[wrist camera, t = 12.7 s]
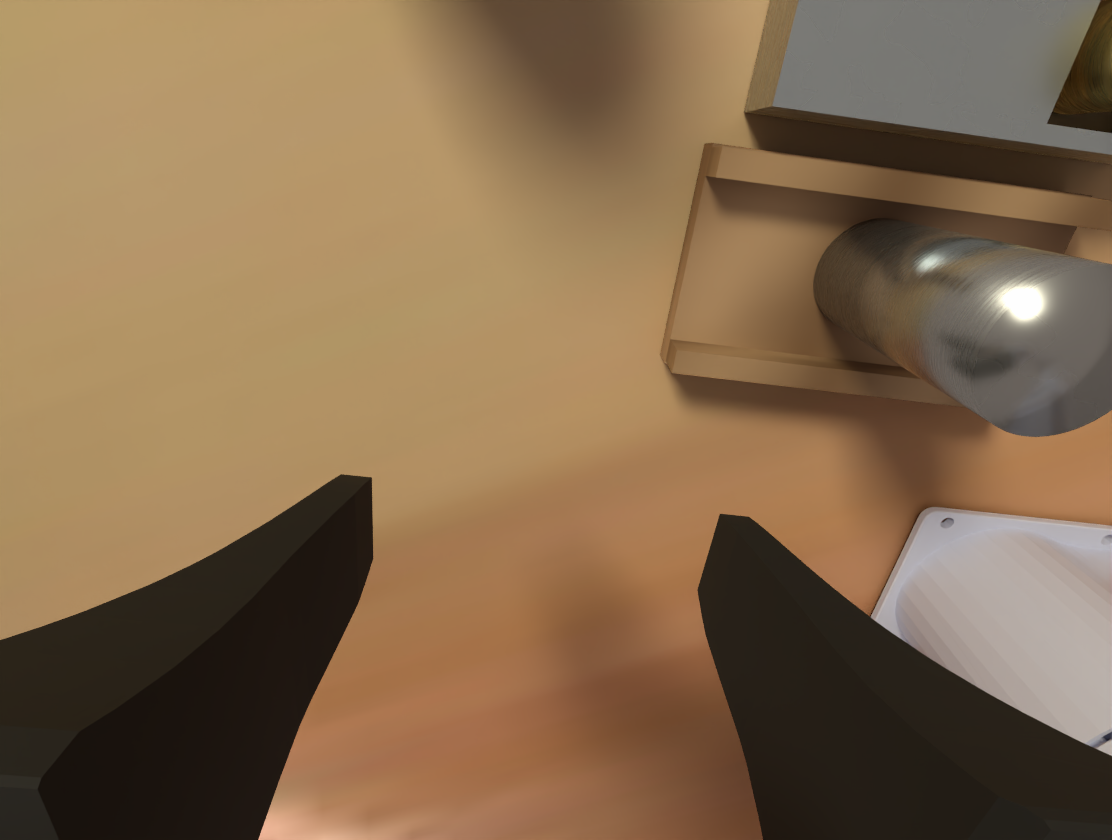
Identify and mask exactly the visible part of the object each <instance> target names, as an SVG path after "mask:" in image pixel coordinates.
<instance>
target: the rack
mask: <svg viewBox="0 0 1112 840" xmlns="http://www.w3.org/2000/svg"><path fill="white" fill-rule="evenodd" d="M1091 197H1092V196H1089V195H1082V194H1075V193H1068V192H1060V191H1053V190H1046V189H1039V188H1032V187H1024V186H1017V185H1010V184H1003V183H996V182H988V181H981V180H974V179H967V178H960V177H952V176H945V175H938V174H931V173H924V172H916V171H909V170H902V169H895V168H888V167H880V166H873V165H866V164H859V163H852V162H844V161H837V160H830V159H823V158H816V157H808V156H801V155H794V154H787V153H780V152H772V151H765V150H758V149H751V148H744V147H736V146H729V145H722V144H715V143H708V144H705V145H704V150H703V154H702V159H701V164H700V169H699V173H698V178H697V183H696V188H695V192H694V197H693V202H692V206H691V211H690V216H689V221H688V225H687V230H686V235H685V240H684V244H683V249H682V254H681V259H680V263H679V268H678V273H677V277H676V282H675V287H674V292H673V296H672V301H671V306H670V311H669V315H668V320H667V325H666V329H665V334H664V339H663V344H662V348H661V353H660V355H661V357H662V359H663V361H664V363H665V364H667V365H668V367H669V369H670V370H671V372H672V373H675V374H684V375H692V376H701V377H709V378H718V379H727V380H735V381H744V382H752V383H761V384H769V385H778V386H787V387H795V388H804V389H812V390H821V391H829V392H838V393H846V394H855V395H864V396H872V397H881V398H889V399H898V400H906V401H915V402H924V403H932V404H941V405H949V406H958V407H965V406H963V405H962V404H960V403H959V402H957V401H955V400H954V399H952V398H951V397H949V396H948V395H946V394H944V393H943V392H941V391H940V390H938V389H936V388H935V387H933V386H932V385H930V384H928V383H927V382H925V381H924V380H922V379H921V378H919V377H917V376H916V375H914V374H913V373H911V372H909V371H908V370H906V369H905V368H903V367H902V366H900V365H898V364H897V363H895V362H894V361H892V360H890V359H889V358H887V357H886V356H884V355H883V354H881V353H879V352H878V351H876V350H875V349H873V348H871V347H870V346H868V345H867V344H865V343H863V342H862V341H860V340H859V339H857V338H856V337H854V336H852V335H851V334H849V333H848V332H846V331H844V330H843V329H841V328H840V327H838V326H837V325H835V324H833V323H832V322H830V321H829V320H828V319H827V318H826V317H825V316H824V315H823V314H822V313H821V311H820V310H819V308H818V306H817V304H816V301H815V298H814V292H813V281H814V275H815V271H816V267H817V265H818V262H819V260H820V258H821V256H822V255H823V253H824V251H825V250H826V248H827V247H828V246H829V245H830V244H831V242H832V241H833V240H834V239H835V238H836V237H837V236H839V235H840V234H841V233H842V232H844V231H845V230H847V229H848V228H850V227H851V226H853V225H856V224H858V223H860V222H863V221H866V220H870V219H875V218H890V219H895V220H900V221H905V222H910V223H914V224H919V225H924V226H929V227H934V228H938V229H943V230H948V231H953V232H958V233H963V234H967V235H972V236H977V237H982V238H987V239H991V240H996V241H1001V242H1006V243H1011V244H1016V245H1020V246H1025V247H1030V248H1035V249H1040V250H1044V251H1049V252H1054V253H1059V254H1064V252H1065V250H1066V248H1067V246H1068V244H1069V242H1070V240H1071V238H1072V236H1073V234H1074V232H1075V230H1076V228H1077V226H1078V227H1085V228H1093V229H1100V230H1108V231H1111V230H1112V200H1105V199H1098V198H1091ZM966 408H967V407H966Z"/></svg>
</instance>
